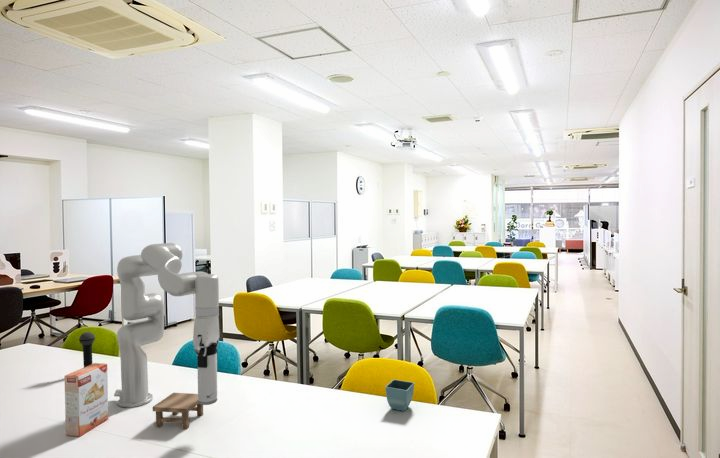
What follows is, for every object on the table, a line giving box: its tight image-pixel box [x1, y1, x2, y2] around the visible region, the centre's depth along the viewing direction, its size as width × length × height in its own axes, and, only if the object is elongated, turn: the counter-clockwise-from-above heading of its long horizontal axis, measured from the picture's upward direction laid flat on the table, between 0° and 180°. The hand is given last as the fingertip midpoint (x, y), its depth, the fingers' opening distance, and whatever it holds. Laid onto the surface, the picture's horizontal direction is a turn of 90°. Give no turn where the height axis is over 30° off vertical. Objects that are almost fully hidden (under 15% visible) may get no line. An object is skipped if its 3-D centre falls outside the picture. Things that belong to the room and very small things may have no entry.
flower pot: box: [385, 379, 415, 412], centre depth 175 cm, size 9×9×9 cm
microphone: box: [78, 331, 96, 368], centre depth 219 cm, size 7×7×20 cm
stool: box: [152, 392, 204, 430], centre depth 167 cm, size 13×13×8 cm
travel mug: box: [196, 343, 218, 406], centre depth 156 cm, size 6×7×20 cm
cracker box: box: [64, 362, 109, 437], centre depth 163 cm, size 14×6×21 cm, turn 170°
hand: (207, 363), depth 156 cm, fingers closed on travel mug, 6 cm apart
